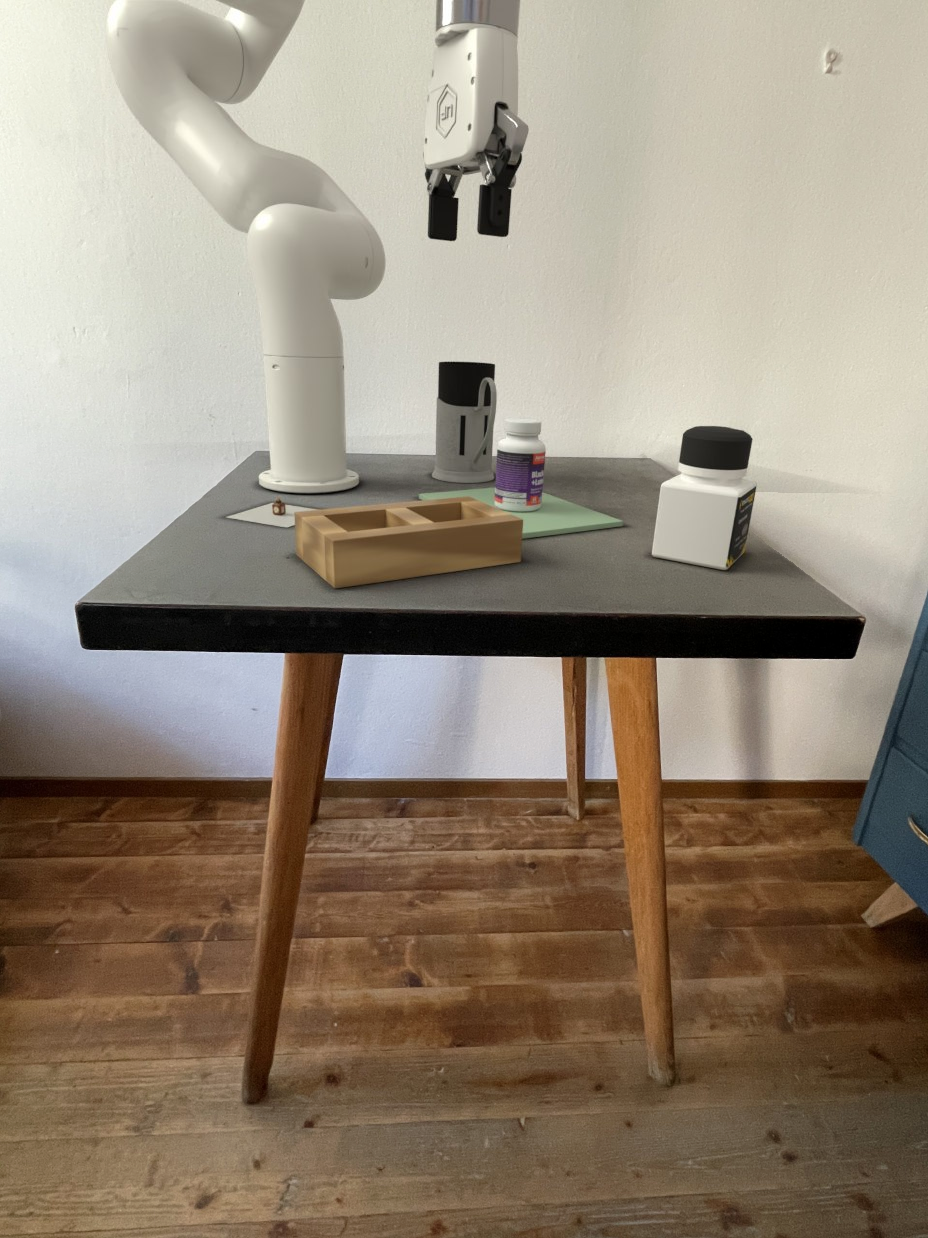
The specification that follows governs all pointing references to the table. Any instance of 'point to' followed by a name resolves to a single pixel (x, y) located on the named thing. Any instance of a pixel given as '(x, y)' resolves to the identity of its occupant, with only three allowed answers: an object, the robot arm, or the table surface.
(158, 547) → the table surface
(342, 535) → the holder
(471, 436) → the glass holder
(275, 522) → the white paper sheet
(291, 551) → the table surface
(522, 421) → the pill bottle
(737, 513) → the medicine bottle
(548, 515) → the mat
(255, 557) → the table surface
